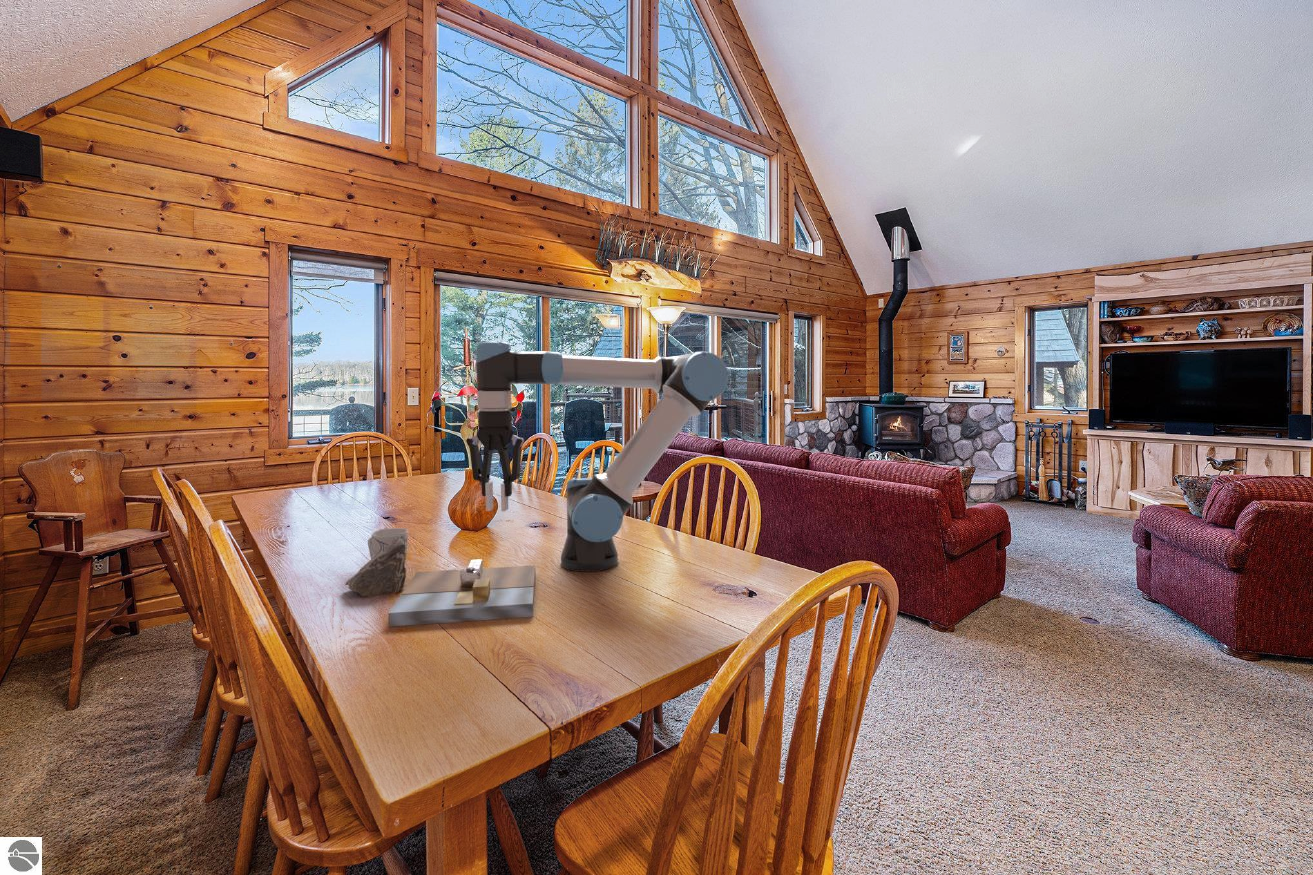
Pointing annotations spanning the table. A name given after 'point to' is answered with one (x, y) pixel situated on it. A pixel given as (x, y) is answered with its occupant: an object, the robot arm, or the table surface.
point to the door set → (465, 597)
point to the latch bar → (471, 573)
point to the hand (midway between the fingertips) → (497, 509)
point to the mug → (386, 540)
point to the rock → (382, 572)
